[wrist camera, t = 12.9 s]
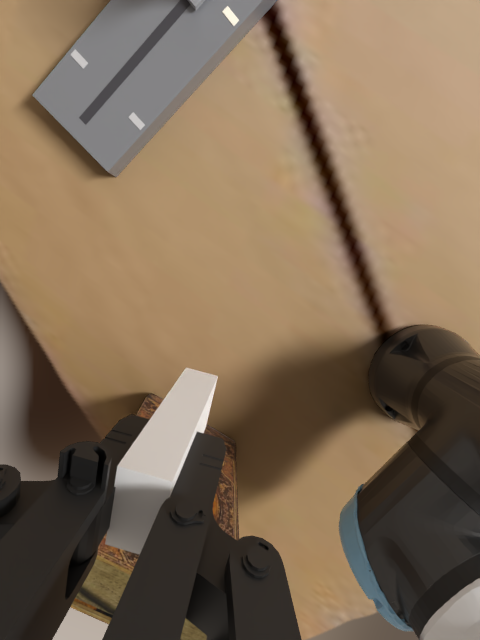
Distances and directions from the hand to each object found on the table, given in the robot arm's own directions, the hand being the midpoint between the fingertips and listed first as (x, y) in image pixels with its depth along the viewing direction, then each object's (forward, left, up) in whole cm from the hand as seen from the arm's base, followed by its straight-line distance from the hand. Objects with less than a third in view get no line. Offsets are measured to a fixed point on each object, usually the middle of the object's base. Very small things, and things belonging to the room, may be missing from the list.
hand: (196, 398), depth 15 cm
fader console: (+10, -28, -31) cm, 43 cm away
